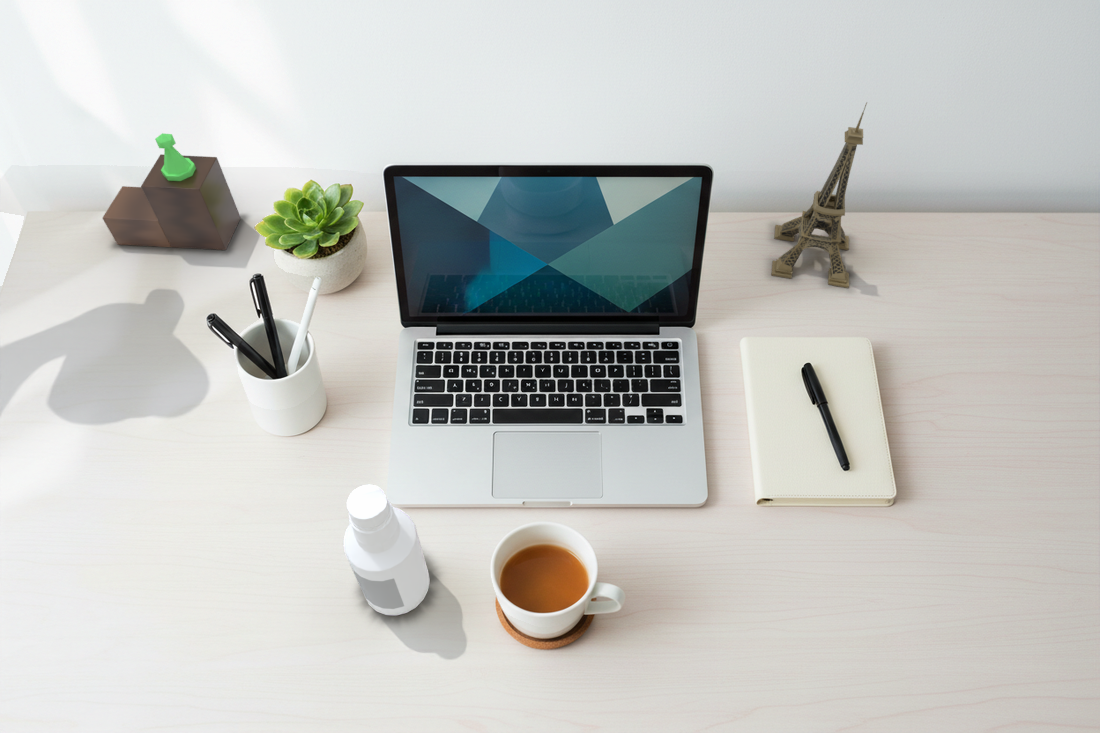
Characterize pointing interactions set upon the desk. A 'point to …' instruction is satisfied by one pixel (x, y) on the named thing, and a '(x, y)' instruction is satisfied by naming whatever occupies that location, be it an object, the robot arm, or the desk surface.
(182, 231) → the stepped wooden block
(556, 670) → the desk surface
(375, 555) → the white bottle
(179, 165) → the game piece
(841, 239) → the eiffel tower
